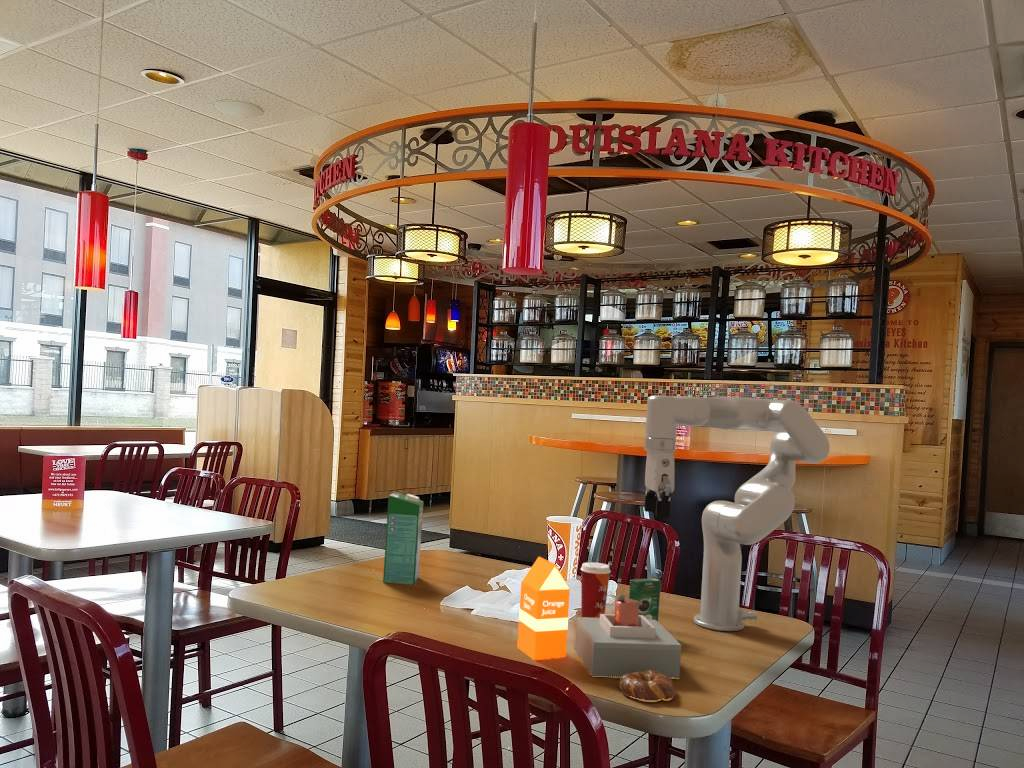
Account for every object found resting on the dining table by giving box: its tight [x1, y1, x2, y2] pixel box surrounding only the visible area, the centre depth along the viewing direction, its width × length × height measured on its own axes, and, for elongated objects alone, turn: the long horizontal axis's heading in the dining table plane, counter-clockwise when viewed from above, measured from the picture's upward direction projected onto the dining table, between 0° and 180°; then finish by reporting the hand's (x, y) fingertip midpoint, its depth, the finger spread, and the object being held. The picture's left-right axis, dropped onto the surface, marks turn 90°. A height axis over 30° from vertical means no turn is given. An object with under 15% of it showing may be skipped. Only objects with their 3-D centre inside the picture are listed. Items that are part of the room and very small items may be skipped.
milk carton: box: [382, 491, 424, 585], centre depth 230 cm, size 9×9×25 cm
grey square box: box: [574, 613, 682, 679], centre depth 168 cm, size 18×18×9 cm
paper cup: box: [580, 561, 612, 618], centre depth 200 cm, size 8×8×14 cm
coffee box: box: [628, 577, 662, 623], centre depth 191 cm, size 8×3×13 cm, turn 123°
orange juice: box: [516, 556, 571, 661], centre depth 172 cm, size 8×9×20 cm
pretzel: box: [617, 669, 676, 700], centre depth 152 cm, size 12×11×4 cm
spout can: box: [614, 594, 639, 627], centre depth 168 cm, size 5×5×11 cm
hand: (656, 514), depth 195 cm, fingers open, 9 cm apart
